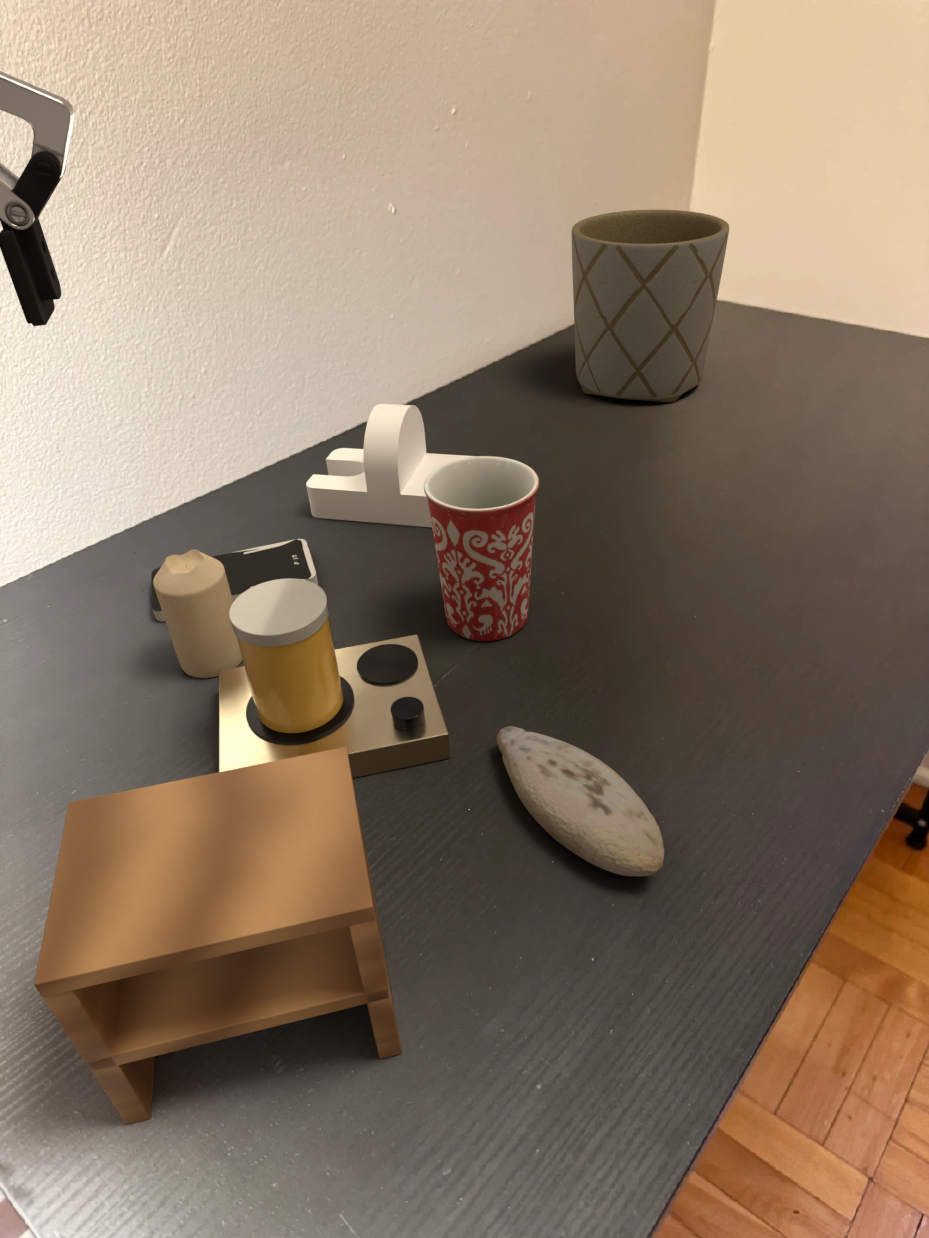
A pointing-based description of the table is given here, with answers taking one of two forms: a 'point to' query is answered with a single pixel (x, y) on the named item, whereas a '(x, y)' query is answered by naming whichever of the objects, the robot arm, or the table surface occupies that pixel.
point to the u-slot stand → (380, 473)
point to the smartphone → (258, 568)
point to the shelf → (211, 917)
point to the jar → (288, 654)
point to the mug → (483, 543)
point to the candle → (198, 613)
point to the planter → (645, 300)
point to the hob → (347, 714)
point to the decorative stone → (582, 803)
